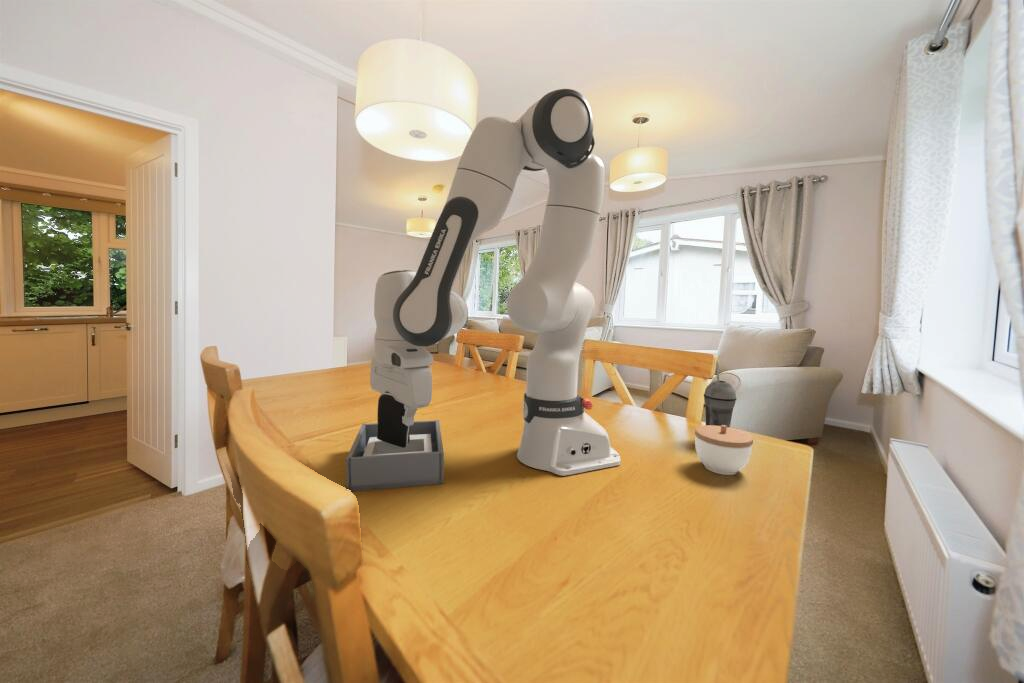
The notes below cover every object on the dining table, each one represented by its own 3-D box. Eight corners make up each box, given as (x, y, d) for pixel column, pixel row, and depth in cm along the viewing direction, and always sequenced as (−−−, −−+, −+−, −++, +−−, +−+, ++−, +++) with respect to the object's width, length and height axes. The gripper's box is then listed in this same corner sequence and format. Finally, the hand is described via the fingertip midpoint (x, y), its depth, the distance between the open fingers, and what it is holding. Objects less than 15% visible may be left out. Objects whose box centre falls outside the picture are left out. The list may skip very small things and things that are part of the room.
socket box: (438, 444, 92) (438, 420, 92) (443, 483, 73) (443, 452, 72) (362, 449, 89) (362, 423, 88) (346, 491, 69) (345, 459, 69)
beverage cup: (737, 448, 94) (744, 366, 92) (704, 445, 96) (710, 364, 93) (727, 438, 101) (733, 361, 99) (697, 435, 103) (702, 360, 101)
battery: (414, 439, 84) (418, 394, 79) (405, 449, 80) (409, 403, 76) (385, 429, 85) (387, 384, 80) (375, 439, 81) (377, 393, 77)
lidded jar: (762, 475, 79) (766, 431, 78) (724, 484, 75) (728, 437, 74) (716, 455, 89) (719, 415, 88) (681, 462, 85) (684, 420, 84)
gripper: (361, 347, 84) (362, 410, 85) (407, 360, 69) (407, 436, 70) (389, 345, 88) (390, 405, 89) (438, 357, 73) (438, 429, 74)
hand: (398, 419), depth 80 cm, fingers closed on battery, 7 cm apart
